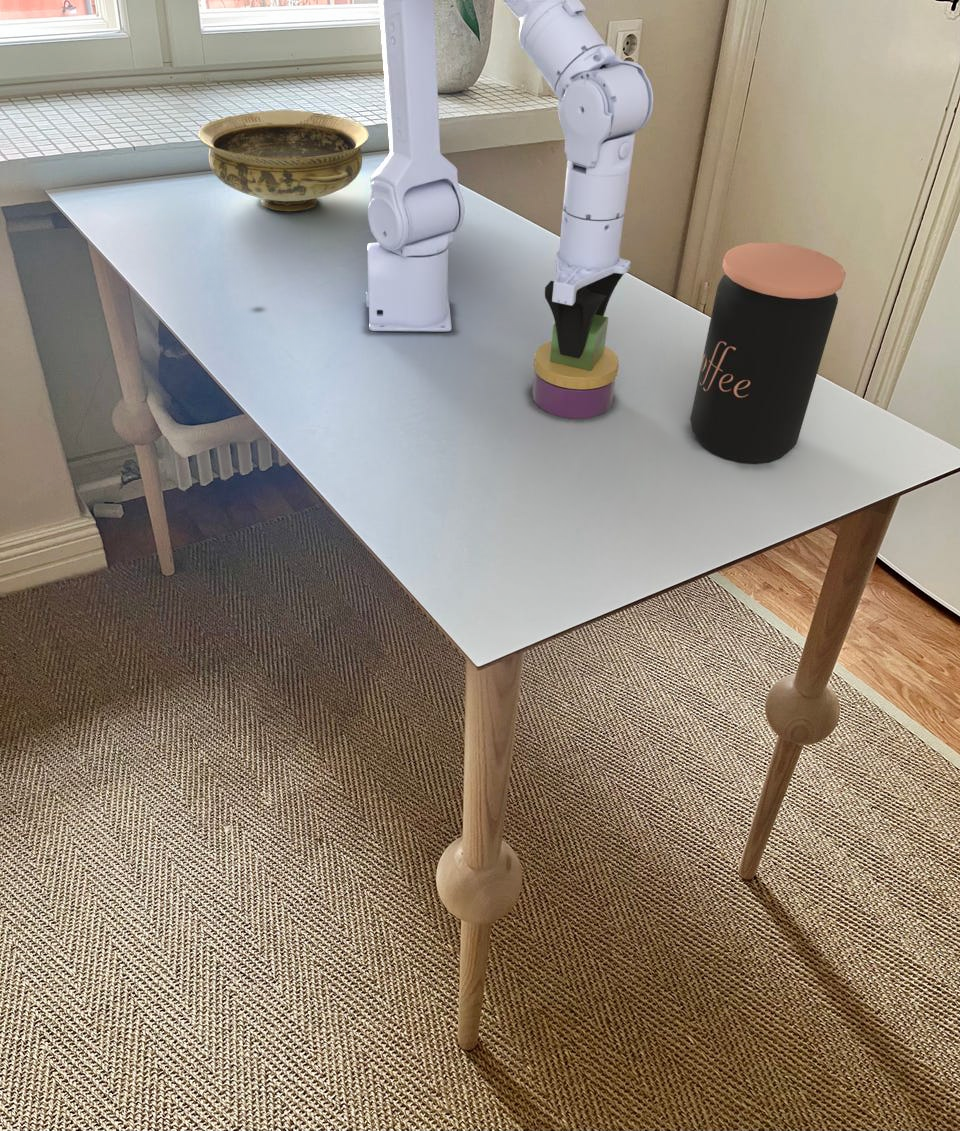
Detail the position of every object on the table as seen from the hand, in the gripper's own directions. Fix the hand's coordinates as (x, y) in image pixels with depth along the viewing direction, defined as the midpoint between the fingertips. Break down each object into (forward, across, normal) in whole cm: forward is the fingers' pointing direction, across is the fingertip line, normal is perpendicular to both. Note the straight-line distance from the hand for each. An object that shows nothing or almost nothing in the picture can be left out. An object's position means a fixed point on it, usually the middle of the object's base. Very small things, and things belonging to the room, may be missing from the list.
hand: (578, 345), depth 99 cm
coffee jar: (+6, 0, -18) cm, 19 cm away
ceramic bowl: (+6, +37, +56) cm, 68 cm away
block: (+1, 0, 0) cm, 1 cm away
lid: (+2, 0, 0) cm, 2 cm away
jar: (+6, 0, 0) cm, 6 cm away
